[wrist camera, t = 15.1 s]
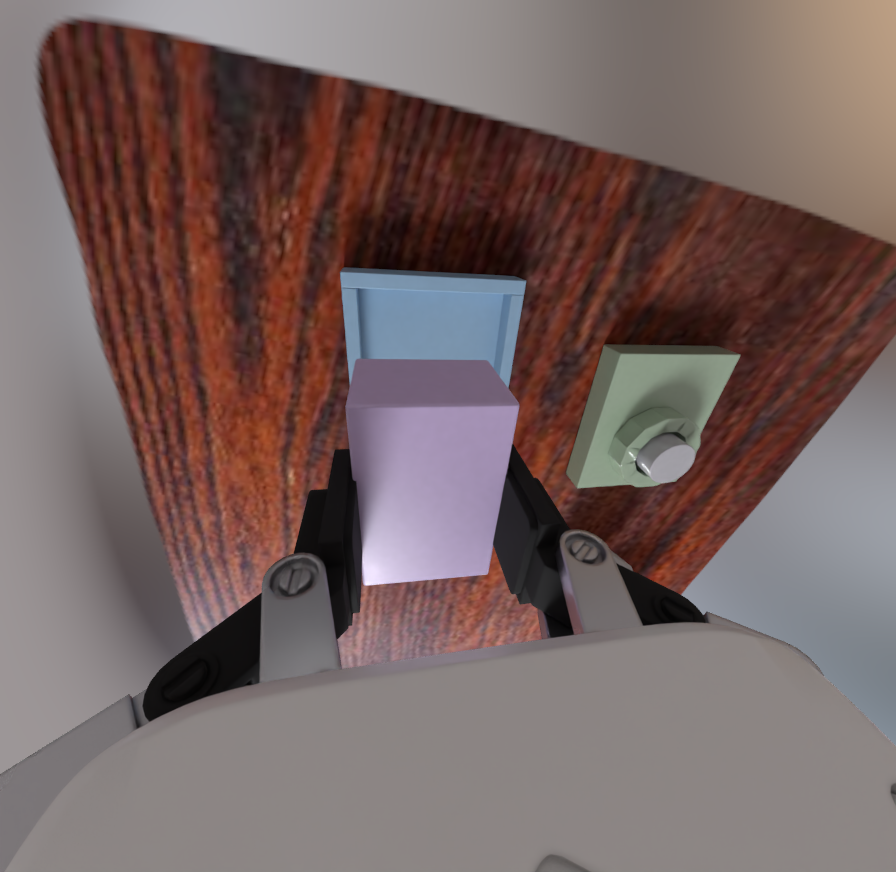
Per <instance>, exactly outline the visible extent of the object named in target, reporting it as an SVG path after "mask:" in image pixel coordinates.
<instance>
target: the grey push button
mask: <svg viewBox="0 0 896 872" xmlns="http://www.w3.org/2000/svg"><path fill="white" fill-rule="evenodd" d="M694 459H695V451H694V449H693V448H692V447H691V446H690V445H689V444H687V443H686V442H684V441H683V440H682V439H680V438H679V437H678V436H676V435H675V434H672V433H662V434H660V435H658V436H656V437H654V438H651V439H650V440H649V441H648V442H647V443H646V444H645V445H644V446H643V447H642V448H641V449H640V450H639V453H638V455H637V458H636V462H637V465H638V467H639V468H640V469H641V470H642V471H644V472H645V473H646V474H647V475H648V476H649V477H650V478H651V479H652V480H653V481H655V482H658V483H667V482H671V481H674V480H676V479H678V478H679V477H681V476H682V475H683V474H685V473H686V472H687V471H688V470H689V468H690V467H691V466H692V464H693V462H694Z"/></svg>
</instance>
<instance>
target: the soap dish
mask: <svg viewBox="0 0 896 872" xmlns="http://www.w3.org/2000/svg"><path fill="white" fill-rule="evenodd" d="M340 278H341V287H342V301H343V312H344V324H345V335H346V347H347V358H348V370H349V381H350V384H351V379H352V375H353V370H354V365H355V361H356V359H424V360H487V361H489V363H490V364H491V366H492V367H493V368H494V370H495V371H496V372H497V374H498V375H499V377H500V378H501V379H502V381H503V382H504V383H505V385H506V386H507V387H508V388H509V382H510V376H511V370H512V364H513V358H514V352H515V346H516V340H517V334H518V328H519V322H520V316H521V310H522V304H523V297H524V292H525V286H526V281H525V280H523V279H521V278H518V277H515V276H504V275H484V274H464V273H444V272H425V271H405V270H385V269H366V268H346V267H344V268H343V269H342V270H341V272H340Z"/></svg>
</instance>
